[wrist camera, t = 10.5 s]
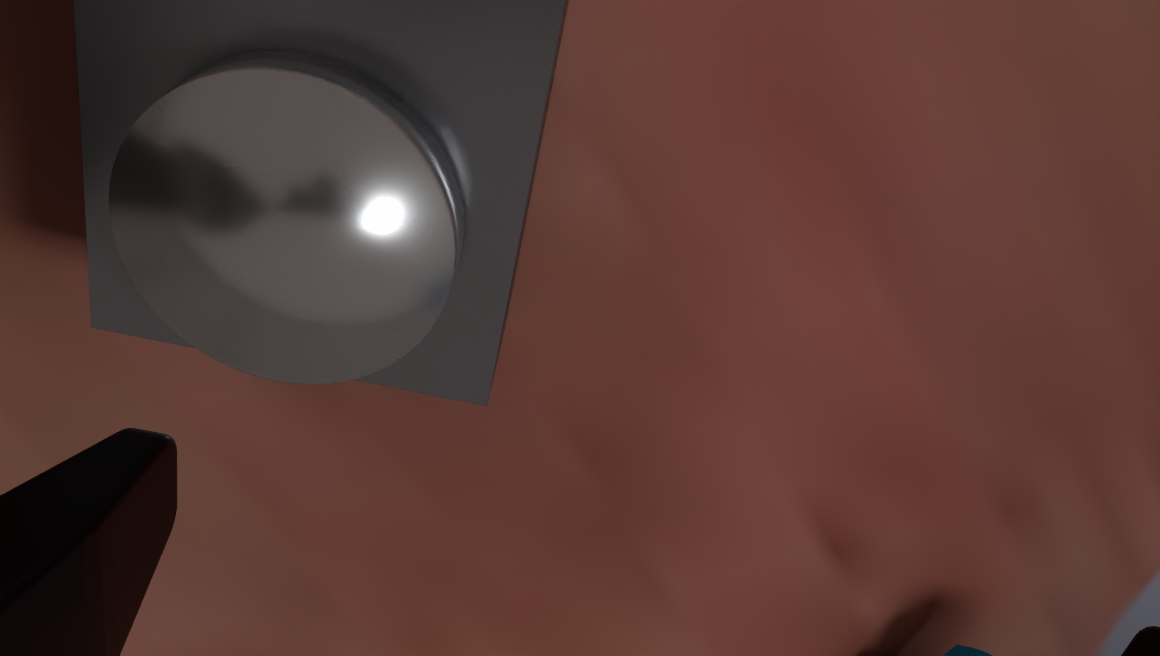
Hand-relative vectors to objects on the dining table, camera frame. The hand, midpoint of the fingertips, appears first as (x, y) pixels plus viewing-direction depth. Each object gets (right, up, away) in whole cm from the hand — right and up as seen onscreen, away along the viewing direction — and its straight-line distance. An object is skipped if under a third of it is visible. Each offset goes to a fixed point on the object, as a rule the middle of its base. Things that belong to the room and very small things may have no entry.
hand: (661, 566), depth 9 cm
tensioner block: (-5, +9, +10) cm, 14 cm away
